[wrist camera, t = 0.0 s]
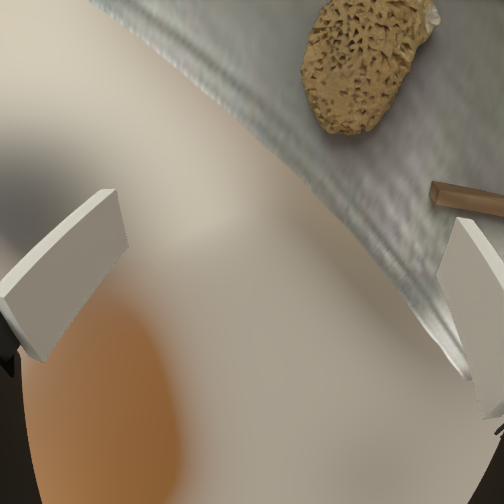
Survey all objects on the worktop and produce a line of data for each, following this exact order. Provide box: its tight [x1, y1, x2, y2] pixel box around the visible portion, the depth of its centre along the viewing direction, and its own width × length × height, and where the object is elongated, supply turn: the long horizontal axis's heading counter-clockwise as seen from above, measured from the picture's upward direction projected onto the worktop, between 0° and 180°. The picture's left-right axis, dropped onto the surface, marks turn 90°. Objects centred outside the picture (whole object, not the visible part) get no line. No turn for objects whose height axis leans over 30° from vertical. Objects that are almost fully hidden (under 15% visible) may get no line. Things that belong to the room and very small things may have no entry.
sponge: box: [301, 0, 441, 135], centre depth 26 cm, size 13×8×20 cm
